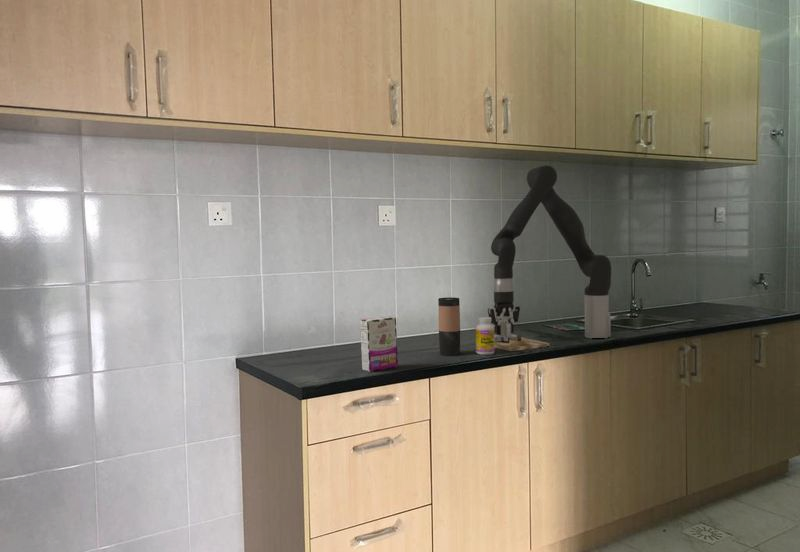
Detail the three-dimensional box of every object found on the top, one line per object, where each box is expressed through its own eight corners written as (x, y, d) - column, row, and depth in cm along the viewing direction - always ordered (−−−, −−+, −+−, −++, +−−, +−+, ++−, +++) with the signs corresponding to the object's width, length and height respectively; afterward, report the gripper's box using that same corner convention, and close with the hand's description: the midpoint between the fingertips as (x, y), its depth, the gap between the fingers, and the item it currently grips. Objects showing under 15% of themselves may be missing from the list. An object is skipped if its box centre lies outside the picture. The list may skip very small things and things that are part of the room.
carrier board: (514, 339, 258) (514, 324, 257) (549, 346, 239) (549, 331, 239) (477, 343, 249) (477, 328, 249) (510, 351, 231) (510, 335, 230)
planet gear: (507, 336, 252) (506, 320, 252) (523, 339, 243) (522, 323, 243) (486, 338, 248) (485, 322, 247) (501, 341, 239) (501, 325, 238)
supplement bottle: (479, 355, 224) (478, 319, 223) (473, 352, 230) (472, 317, 229) (497, 354, 225) (496, 318, 224) (490, 351, 231) (490, 316, 231)
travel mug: (464, 353, 229) (463, 297, 228) (454, 356, 223) (452, 299, 221) (446, 351, 233) (444, 297, 232) (435, 355, 227) (434, 299, 226)
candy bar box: (389, 365, 211) (388, 315, 210) (398, 367, 207) (397, 317, 206) (360, 370, 204) (359, 319, 203) (369, 372, 200) (367, 320, 199)
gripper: (512, 288, 251) (513, 331, 252) (482, 290, 244) (483, 334, 245) (524, 289, 244) (525, 333, 245) (494, 291, 238) (494, 337, 239)
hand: (504, 333), depth 245 cm, fingers closed on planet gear, 5 cm apart
